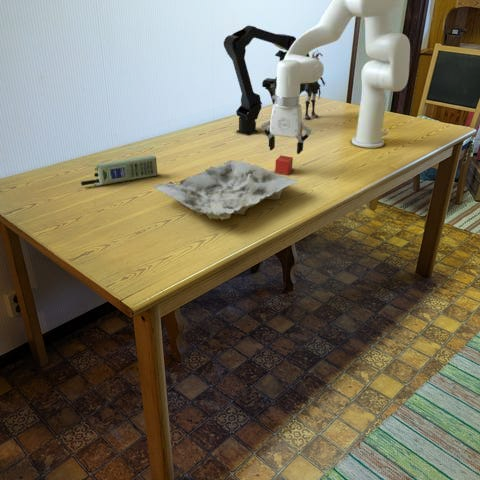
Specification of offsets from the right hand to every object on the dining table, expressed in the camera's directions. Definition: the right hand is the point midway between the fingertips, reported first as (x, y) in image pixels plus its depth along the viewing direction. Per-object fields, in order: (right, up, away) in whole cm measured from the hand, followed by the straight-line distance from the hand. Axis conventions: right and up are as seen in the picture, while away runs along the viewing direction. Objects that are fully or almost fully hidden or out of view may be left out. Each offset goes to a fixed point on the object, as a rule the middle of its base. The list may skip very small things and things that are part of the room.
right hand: (285, 150), depth 172 cm
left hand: (+3, +28, +46) cm, 54 cm away
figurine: (+17, +26, +62) cm, 70 cm away
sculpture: (-20, -18, -18) cm, 32 cm away
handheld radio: (-55, -11, -6) cm, 56 cm away
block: (0, -7, +3) cm, 7 cm away
